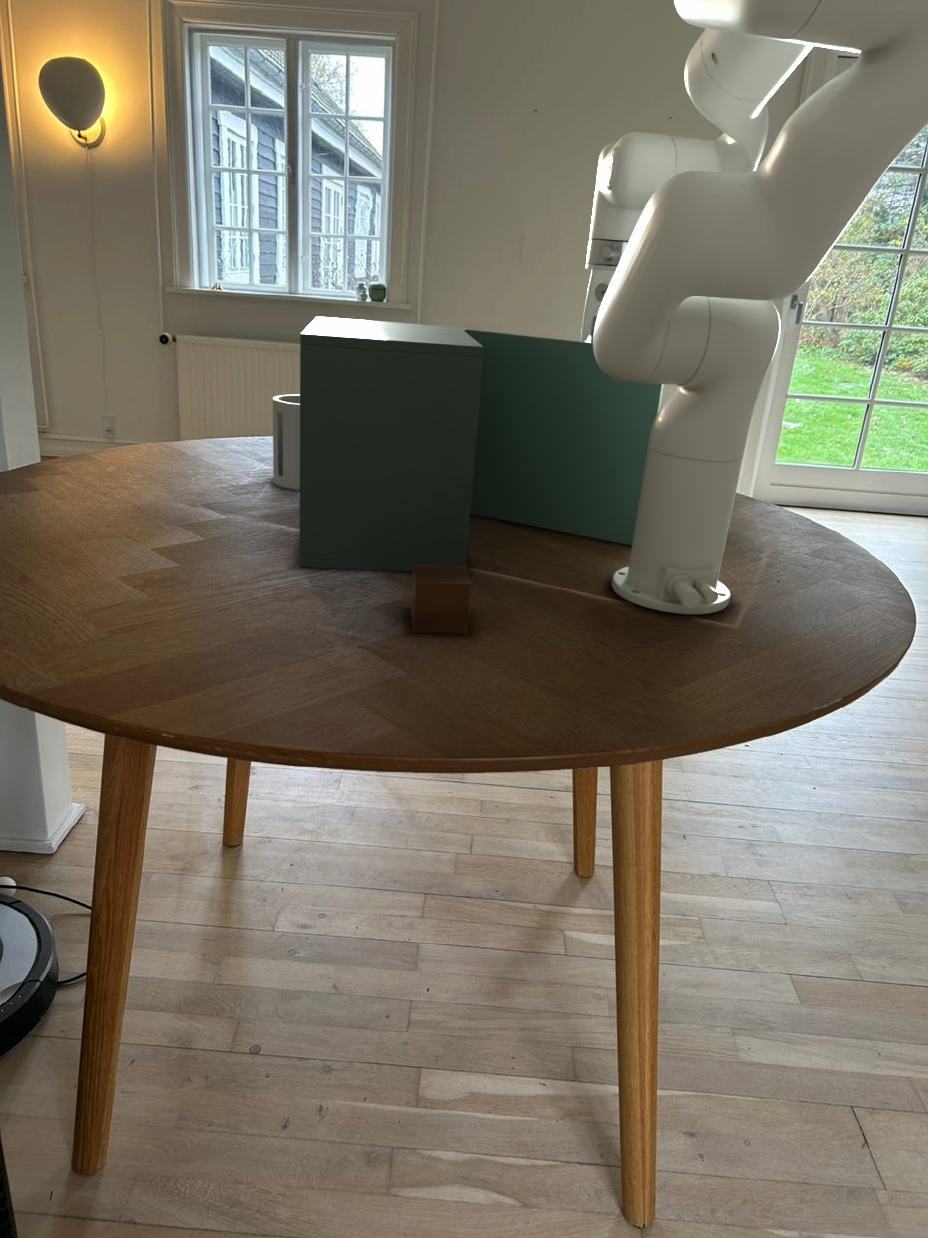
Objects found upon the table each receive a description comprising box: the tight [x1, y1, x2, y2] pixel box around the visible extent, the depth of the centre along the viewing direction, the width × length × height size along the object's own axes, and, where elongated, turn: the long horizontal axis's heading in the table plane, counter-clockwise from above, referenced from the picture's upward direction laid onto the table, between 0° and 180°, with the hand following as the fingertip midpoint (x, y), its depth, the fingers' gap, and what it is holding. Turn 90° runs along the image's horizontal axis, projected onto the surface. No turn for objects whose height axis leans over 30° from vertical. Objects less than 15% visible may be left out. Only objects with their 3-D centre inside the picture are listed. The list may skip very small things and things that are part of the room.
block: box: [410, 563, 472, 635], centre depth 80 cm, size 5×5×5 cm
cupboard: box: [299, 316, 484, 573], centre depth 100 cm, size 18×26×24 cm
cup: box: [272, 394, 300, 491], centre depth 123 cm, size 9×9×12 cm
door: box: [463, 328, 665, 546], centre depth 111 cm, size 6×26×24 cm, turn 66°
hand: (596, 410), depth 111 cm, fingers closed
